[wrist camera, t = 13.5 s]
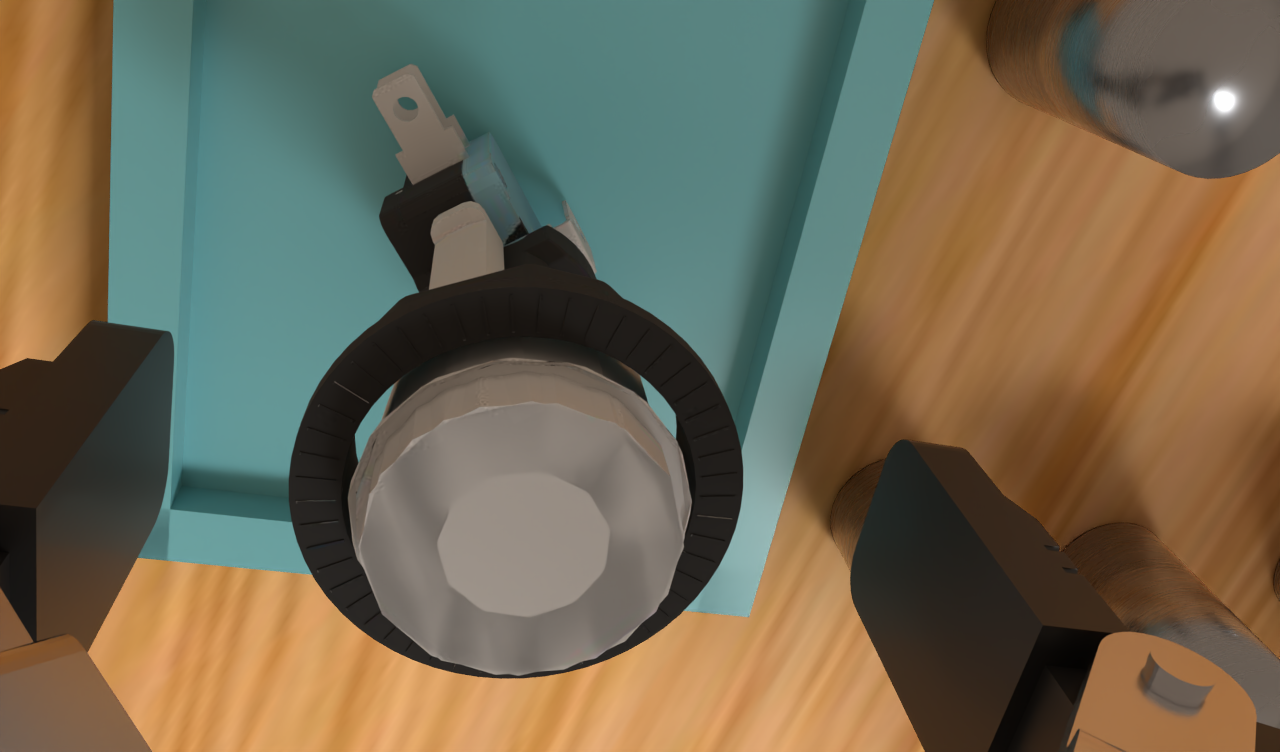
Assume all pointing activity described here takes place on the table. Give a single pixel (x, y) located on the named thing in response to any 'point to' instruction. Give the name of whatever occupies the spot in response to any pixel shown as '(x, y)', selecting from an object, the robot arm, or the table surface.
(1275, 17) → the standoff cluster
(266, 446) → the tray
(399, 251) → the push button
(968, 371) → the table surface
